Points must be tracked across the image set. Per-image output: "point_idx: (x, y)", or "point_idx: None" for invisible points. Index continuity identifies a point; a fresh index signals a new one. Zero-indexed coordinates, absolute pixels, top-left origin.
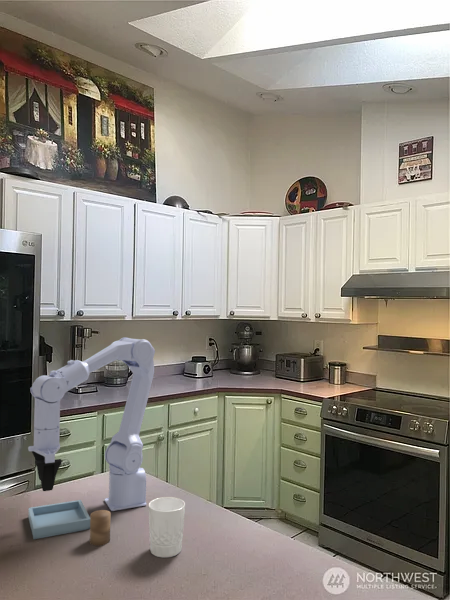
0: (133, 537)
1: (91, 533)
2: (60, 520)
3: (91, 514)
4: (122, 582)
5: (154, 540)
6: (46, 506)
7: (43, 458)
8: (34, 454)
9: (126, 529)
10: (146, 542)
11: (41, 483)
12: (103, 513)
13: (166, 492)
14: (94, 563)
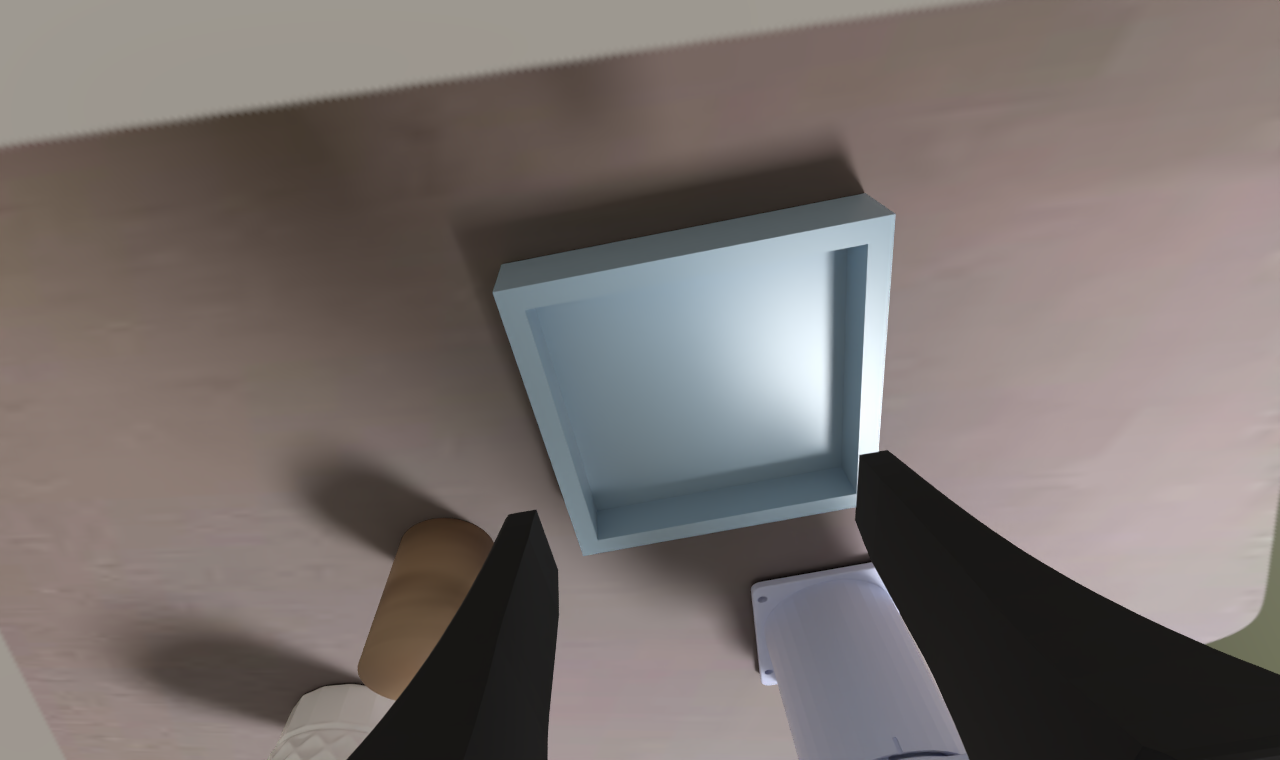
0: None
1: (402, 566)
2: (700, 396)
3: (415, 642)
4: (85, 619)
5: (276, 755)
6: (862, 334)
7: (1008, 718)
8: (1111, 737)
9: None
10: None
11: (477, 578)
12: None
13: None
14: (226, 540)
